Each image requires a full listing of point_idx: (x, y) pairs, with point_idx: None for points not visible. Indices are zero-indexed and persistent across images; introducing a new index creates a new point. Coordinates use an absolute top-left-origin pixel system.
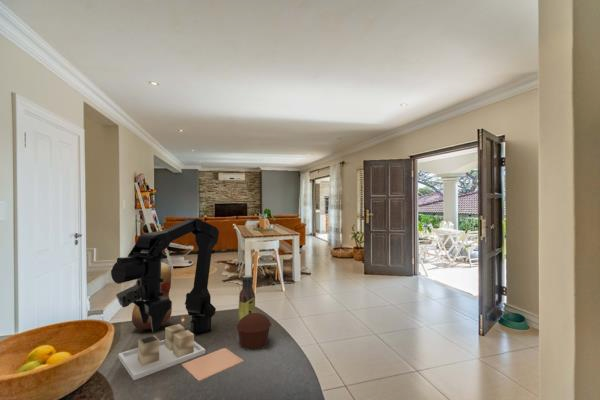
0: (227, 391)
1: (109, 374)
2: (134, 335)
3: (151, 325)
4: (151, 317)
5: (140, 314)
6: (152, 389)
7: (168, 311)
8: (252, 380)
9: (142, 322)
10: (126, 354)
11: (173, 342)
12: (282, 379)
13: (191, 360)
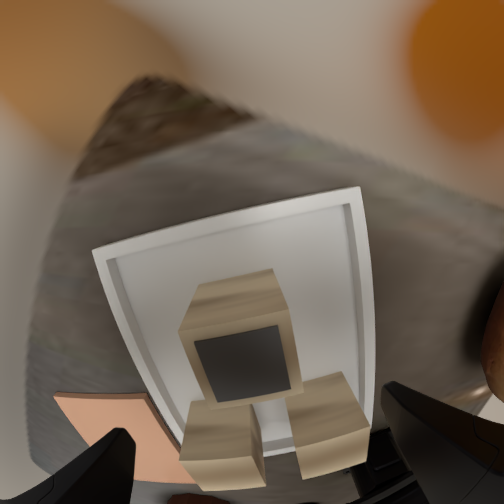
0: (32, 411)
1: (221, 150)
2: (494, 257)
3: (87, 463)
4: (12, 500)
5: (450, 416)
6: (53, 296)
7: (498, 398)
8: (60, 449)
9: (392, 386)
10: (348, 221)
11: (249, 426)
12: (60, 467)
13: (157, 423)
